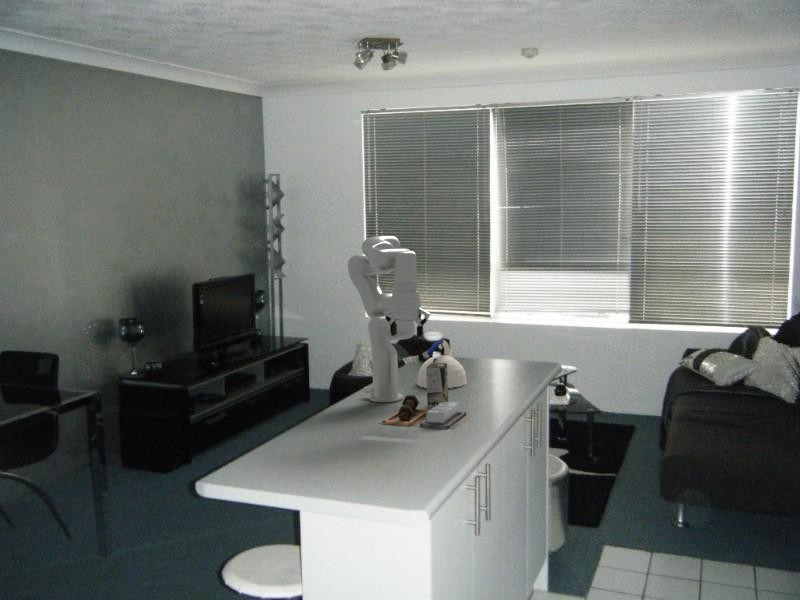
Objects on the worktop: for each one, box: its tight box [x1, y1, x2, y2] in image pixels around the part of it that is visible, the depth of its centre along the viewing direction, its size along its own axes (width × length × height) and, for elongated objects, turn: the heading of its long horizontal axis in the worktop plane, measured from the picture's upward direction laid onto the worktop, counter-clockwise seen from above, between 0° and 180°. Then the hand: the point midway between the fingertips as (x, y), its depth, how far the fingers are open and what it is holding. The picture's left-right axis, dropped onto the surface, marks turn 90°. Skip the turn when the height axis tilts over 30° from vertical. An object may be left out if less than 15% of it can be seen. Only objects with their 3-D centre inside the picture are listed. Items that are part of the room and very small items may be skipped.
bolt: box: [397, 394, 420, 421], centre depth 271 cm, size 6×5×15 cm
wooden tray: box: [378, 408, 472, 430], centre depth 268 cm, size 26×18×2 cm
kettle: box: [416, 339, 468, 389], centre depth 328 cm, size 20×21×18 cm
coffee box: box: [426, 363, 449, 410], centre depth 284 cm, size 9×6×16 cm
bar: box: [427, 401, 461, 425], centre depth 265 cm, size 6×15×4 cm, turn 157°
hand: (406, 336), depth 280 cm, fingers open, 9 cm apart
